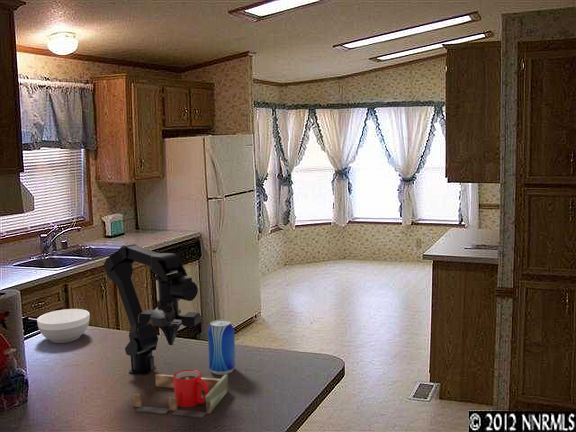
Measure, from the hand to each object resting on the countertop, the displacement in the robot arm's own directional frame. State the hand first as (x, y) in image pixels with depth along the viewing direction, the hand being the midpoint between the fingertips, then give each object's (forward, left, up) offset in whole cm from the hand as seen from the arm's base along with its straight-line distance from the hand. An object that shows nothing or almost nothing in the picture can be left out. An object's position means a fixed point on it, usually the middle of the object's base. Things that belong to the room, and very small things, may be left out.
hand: (171, 344), depth 185 cm
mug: (+12, -12, -12) cm, 21 cm away
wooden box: (+8, -12, -12) cm, 18 cm away
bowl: (-59, +30, -12) cm, 67 cm away
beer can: (+12, +11, -12) cm, 20 cm away
